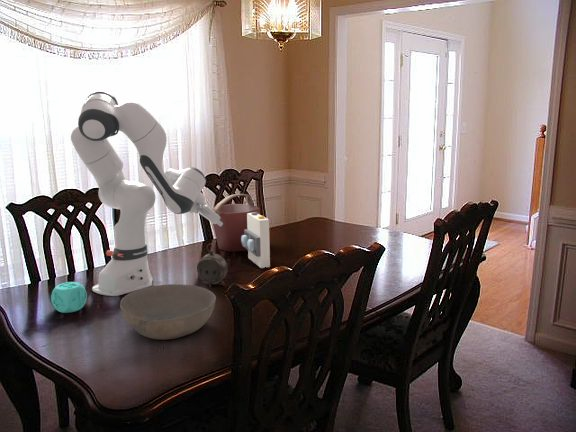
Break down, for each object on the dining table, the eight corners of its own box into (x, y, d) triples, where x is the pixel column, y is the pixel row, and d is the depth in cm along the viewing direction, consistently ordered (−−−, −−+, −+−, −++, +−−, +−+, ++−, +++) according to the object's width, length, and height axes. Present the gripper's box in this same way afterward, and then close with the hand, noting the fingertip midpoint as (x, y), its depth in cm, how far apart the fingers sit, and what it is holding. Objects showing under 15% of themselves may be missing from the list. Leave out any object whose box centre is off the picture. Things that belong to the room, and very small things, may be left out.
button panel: (257, 268, 214) (256, 219, 210) (245, 258, 228) (243, 211, 224) (270, 266, 216) (268, 217, 212) (256, 256, 230) (255, 210, 226)
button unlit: (245, 248, 220) (244, 236, 219) (241, 245, 225) (241, 234, 224) (249, 247, 221) (248, 236, 220) (245, 244, 226) (245, 233, 225)
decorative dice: (69, 314, 169) (66, 291, 168) (52, 310, 173) (49, 287, 171) (88, 306, 176) (86, 283, 175) (71, 302, 180) (69, 280, 178)
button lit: (251, 252, 213) (251, 241, 212) (247, 249, 218) (247, 238, 217) (255, 252, 214) (255, 240, 213) (251, 249, 218) (251, 237, 217)
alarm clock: (228, 284, 196) (227, 242, 192) (223, 289, 191) (221, 246, 187) (202, 282, 199) (199, 240, 195) (195, 286, 193) (193, 244, 190)
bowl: (106, 329, 158) (103, 298, 156) (184, 304, 176) (182, 276, 174) (154, 360, 138) (151, 324, 136) (235, 328, 157) (234, 297, 155)
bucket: (247, 238, 263) (245, 189, 258) (272, 247, 246) (270, 194, 240) (203, 246, 249) (200, 194, 244) (226, 256, 231) (224, 201, 226)
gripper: (206, 200, 193) (232, 223, 199) (194, 191, 212) (218, 213, 218) (195, 212, 193) (222, 235, 198) (183, 203, 211) (208, 224, 217)
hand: (220, 223), depth 208 cm, fingers open, 3 cm apart
